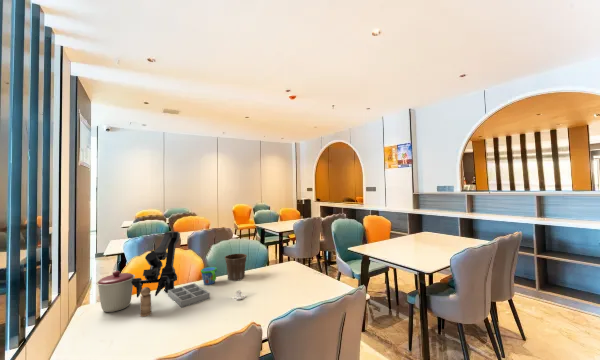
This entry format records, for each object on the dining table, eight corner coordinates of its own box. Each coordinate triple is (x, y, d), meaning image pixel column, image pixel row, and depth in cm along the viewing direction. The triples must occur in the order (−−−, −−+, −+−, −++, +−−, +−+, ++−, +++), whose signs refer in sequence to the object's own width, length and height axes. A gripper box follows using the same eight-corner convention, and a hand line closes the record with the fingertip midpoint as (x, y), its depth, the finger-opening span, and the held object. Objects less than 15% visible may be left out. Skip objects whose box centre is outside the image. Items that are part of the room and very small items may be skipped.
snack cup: (198, 282, 187) (197, 268, 187) (212, 278, 194) (212, 265, 194) (205, 288, 175) (205, 273, 175) (220, 284, 181) (220, 269, 182)
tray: (168, 295, 164) (168, 290, 164) (194, 288, 175) (194, 283, 175) (181, 307, 146) (181, 301, 146) (209, 298, 157) (209, 292, 158)
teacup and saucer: (241, 301, 152) (241, 294, 152) (229, 301, 154) (228, 294, 154) (247, 295, 161) (247, 289, 161) (235, 295, 162) (235, 288, 163)
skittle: (139, 314, 140) (138, 287, 140) (150, 311, 143) (149, 284, 144) (141, 317, 136) (141, 290, 136) (152, 314, 139) (152, 287, 140)
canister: (89, 318, 138) (89, 277, 139) (105, 304, 155) (105, 268, 156) (128, 312, 142) (128, 273, 143) (139, 299, 160) (139, 264, 161)
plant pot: (252, 276, 196) (251, 254, 197) (236, 283, 183) (235, 260, 183) (236, 273, 205) (236, 252, 206) (220, 279, 191) (219, 257, 192)
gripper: (132, 263, 146) (122, 291, 134) (167, 261, 148) (160, 288, 137) (139, 273, 153) (130, 300, 142) (173, 271, 156) (166, 297, 144)
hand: (146, 296), depth 141 cm, fingers open, 9 cm apart
